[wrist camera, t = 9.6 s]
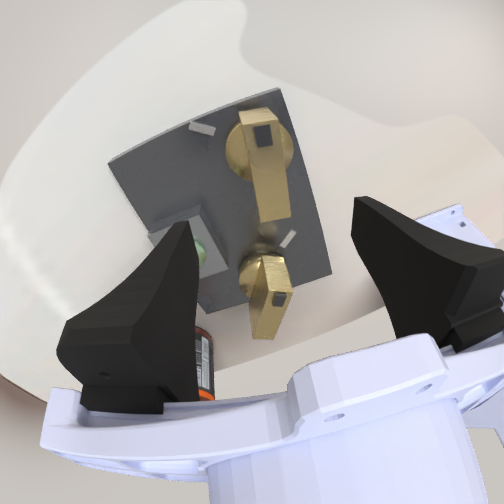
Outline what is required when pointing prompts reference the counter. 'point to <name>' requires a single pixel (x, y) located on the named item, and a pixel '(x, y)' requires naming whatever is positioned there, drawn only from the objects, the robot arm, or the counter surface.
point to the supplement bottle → (204, 365)
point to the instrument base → (222, 201)
